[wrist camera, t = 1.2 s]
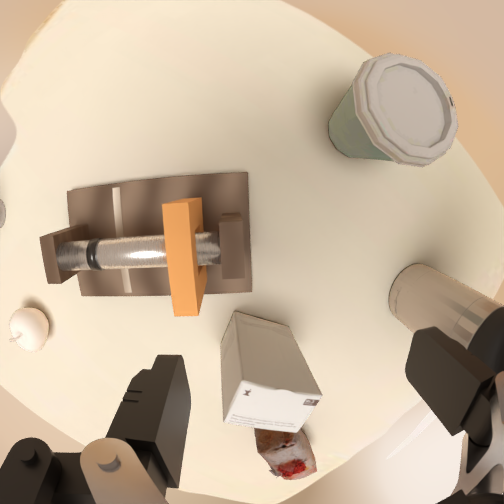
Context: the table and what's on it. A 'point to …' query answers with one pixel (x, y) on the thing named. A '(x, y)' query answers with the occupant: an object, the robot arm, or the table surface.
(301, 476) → the food item
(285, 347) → the skincare box
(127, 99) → the table surface
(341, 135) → the disposable coffee cup
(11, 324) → the plain white apple
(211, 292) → the pipe stand
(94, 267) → the pipe
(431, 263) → the table surface
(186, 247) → the square ring
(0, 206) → the chalice
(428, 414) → the table surface
